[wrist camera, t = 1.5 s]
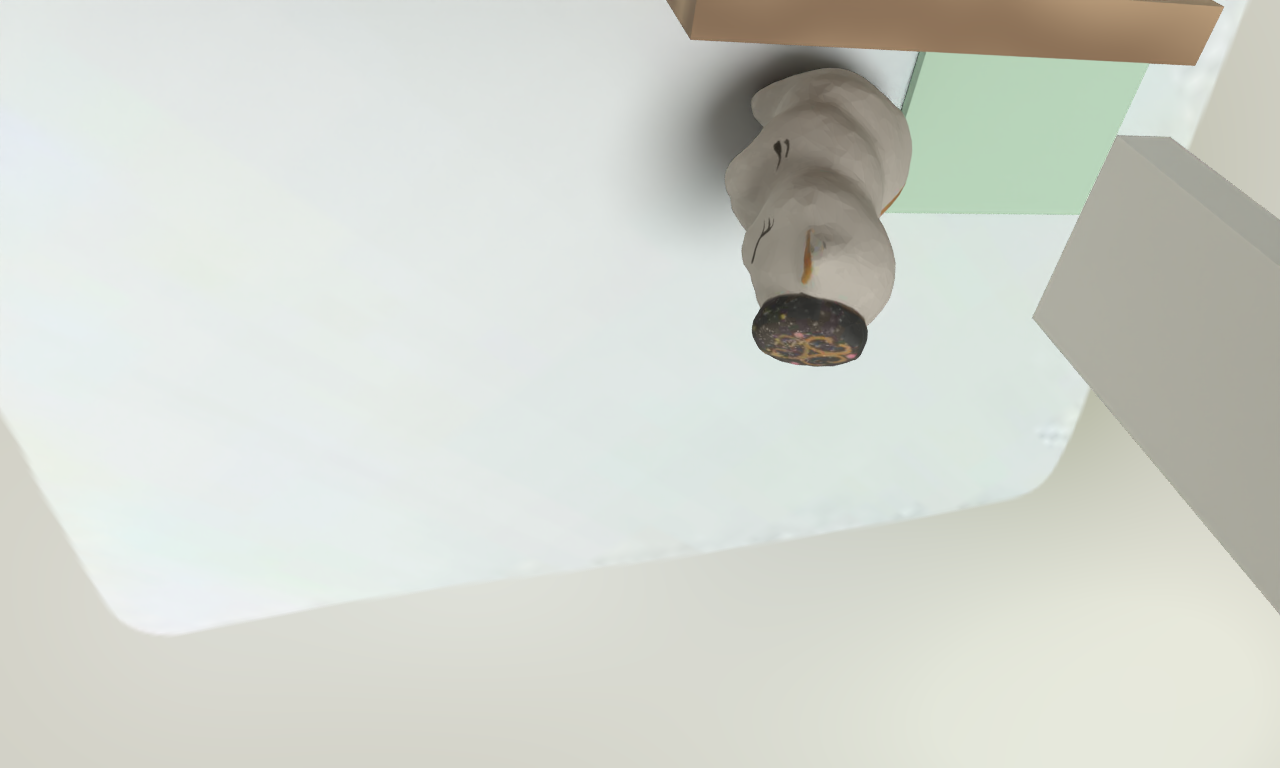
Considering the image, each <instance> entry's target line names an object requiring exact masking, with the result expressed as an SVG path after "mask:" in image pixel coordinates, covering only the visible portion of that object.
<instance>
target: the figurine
mask: <svg viewBox="0 0 1280 768" xmlns="http://www.w3.org/2000/svg"><path fill="white" fill-rule="evenodd" d="M751 107H752V111H753V116H754V117H755V119H756V120H757V121H758V122H759V123H760V124H761V125H762V126H763V129H762V131H761V132H760V134H759V135H758V136H757V137H756V138H755V139H754V140H753V141H752V142H751V144H750V145H749V146H748V147H747V148H745V149H744V150H743V151H742V152H741V153H739V154H738V155H737V156H736V157H735V158H734V159H733V160H732V161H731V163H730V164H729V166H728V168H727V170H726V173H725V186H726V190H727V193H728V195H729V196H730V199H731V206H732V210H733V212H734V214H735V215H736V217H737V219H738V220H739V222H740V223H741V225H742V226H743V227H744V229H745V230H746V231H747V232H746V233H745V237H744V241H743V245H742V259H743V263H744V265H745V267H746V268H747V270H748V271H749V273H750V276H751V280H752V284H753V287H754V290H755V294H756V299H757V301H758V304H759V306H760V310H759V312H758V314H757V315H756V317H755V319H754V320H753V325H752V335H753V338H754V340H755V342H756V344H757V346H758V347H759V349H760V350H761V351H762V352H764V353H765V354H767V355H770V356H771V357H773V358H775V359H777V360H780V361H782V362H787V363H791V364H795V365H808V366H836V365H840V364H844V363H847V362H850V361H852V360H856V359H857V358H858V357H859V356H860V355H861V353H862V351H863V349H864V346H865V344H866V341H867V333H868V330H867V326H868V325H869V324H870V323H871V322H872V321H873V320H874V319H875V317H876V316H877V315H878V314H879V313H880V312H881V310H882V309H883V308H884V306H885V305H886V303H887V302H888V300H889V298H890V296H891V292H892V289H893V284H894V279H895V258H894V253H893V250H892V246H891V243H890V241H889V238H888V236H887V233H886V231H885V228H884V227H883V225H882V223H881V222H880V220H879V218H880V216H881V215H882V214H884V213H885V212H886V211H887V210H888V209H889V207H890V206H891V205H892V204H893V203H894V202H895V200H896V199H897V198H898V196H899V195H900V193H901V191H902V190H903V188H904V186H905V184H906V181H907V177H908V174H909V168H910V162H911V157H912V140H911V135H910V131H909V126H908V123H907V120H906V118H905V116H904V114H903V113H902V112H901V111H900V110H899V109H898V108H897V107H896V106H895V105H894V104H893V103H892V102H891V101H890V100H889V99H888V98H887V97H886V96H885V95H884V94H883V93H881V92H880V91H879V90H878V89H877V88H876V87H875V86H874V85H873V84H871V83H870V82H869V81H868V80H866V79H865V78H864V77H862V76H860V75H858V74H857V73H854V72H851V71H848V70H846V69H840V68H823V69H817V70H812V71H808V72H804V73H801V74H797V75H794V76H790V77H787V78H785V79H783V80H780V81H777V82H774V83H772V84H770V85H768V86H766V87H765V88H763V89H761V90H759V91H758V92H757V93H756V94H755V95H754V96H753V97H752V101H751Z"/></svg>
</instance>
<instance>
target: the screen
mask: <svg viewBox="0 0 1280 768" xmlns="http://www.w3.org/2000/svg"><path fill="white" fill-rule="evenodd" d="M667 2H668V4H669V5H670V7H671V9H672V10H673V12H674V14H675V15H676V17H677V18H678V20H679V22H680V23H681V25H682V27H683V28H684V30H685V32H686V33H687V35H688V37H689V38H690V40H706V41H726V42H745V43H764V44H784V45H803V46H823V47H842V48H861V49H881V50H900V51H920V52H939V53H958V54H978V55H997V56H1016V57H1036V58H1055V59H1075V60H1094V61H1113V62H1133V63H1152V64H1172V65H1191V66H1195V65H1196V63H1197V61H1198V59H1199V57H1200V55H1201V53H1202V51H1203V49H1204V47H1205V45H1206V43H1207V41H1208V39H1209V37H1210V35H1211V33H1212V31H1213V28H1214V26H1215V24H1216V22H1217V20H1218V18H1219V16H1220V14H1221V12H1222V10H1223V8H1224V6H1222V5H1220V4H1218V3H1216V2H1215V1H1213V0H667Z"/></svg>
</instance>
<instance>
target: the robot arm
mask: <svg viewBox="0 0 1280 768" xmlns="http://www.w3.org/2000/svg"><path fill="white" fill-rule="evenodd" d="M1032 318H1033V319H1034V321H1035V322H1036V323H1037V324H1038V325H1039V327H1040V328H1041V329H1042V330H1043V331H1044V333H1045V334H1046V335H1047V336H1048V337H1049V339H1050V340H1051V341H1052V342H1053V343H1054V345H1055V346H1056V347H1057V348H1058V349H1059V351H1060V352H1061V353H1062V354H1063V355H1064V357H1065V358H1066V359H1067V360H1068V361H1069V363H1070V364H1071V365H1072V366H1073V367H1074V369H1075V370H1076V371H1077V372H1078V373H1079V375H1080V376H1081V377H1082V378H1083V379H1084V380H1085V382H1086V383H1087V384H1088V385H1089V386H1090V388H1091V389H1092V390H1093V391H1094V392H1095V393H1096V395H1097V396H1098V397H1099V398H1100V400H1101V401H1102V402H1103V403H1104V404H1105V406H1106V407H1107V408H1108V409H1109V410H1110V412H1111V413H1112V414H1113V415H1114V416H1115V418H1116V419H1117V420H1118V421H1119V422H1120V424H1121V425H1122V426H1123V427H1124V428H1125V430H1126V431H1127V432H1128V433H1129V434H1130V436H1131V437H1132V438H1133V439H1134V440H1135V442H1136V443H1137V444H1138V445H1139V446H1140V447H1141V448H1142V450H1143V451H1144V452H1145V454H1146V455H1147V456H1148V457H1149V458H1150V460H1151V461H1152V462H1153V463H1154V464H1155V466H1156V467H1157V468H1158V469H1159V470H1160V472H1161V473H1162V474H1163V475H1164V476H1165V477H1166V479H1167V480H1168V481H1169V482H1170V484H1171V485H1172V486H1173V487H1174V488H1175V489H1176V491H1177V492H1178V493H1179V494H1180V496H1181V497H1182V498H1183V499H1184V500H1185V501H1186V503H1187V504H1188V505H1189V506H1190V507H1191V509H1192V510H1193V511H1194V512H1195V513H1196V515H1197V516H1198V517H1199V518H1200V519H1201V521H1202V522H1203V523H1204V524H1205V525H1206V527H1207V528H1208V529H1209V530H1210V531H1211V533H1212V534H1213V535H1214V536H1215V537H1216V538H1217V540H1218V541H1219V542H1220V543H1221V545H1222V546H1223V547H1224V548H1225V549H1226V551H1227V552H1228V553H1229V554H1230V555H1231V557H1232V558H1233V559H1234V560H1235V561H1236V562H1237V564H1238V565H1239V566H1240V567H1241V569H1242V570H1243V571H1244V572H1245V573H1246V574H1247V576H1248V577H1249V578H1250V579H1251V580H1252V582H1253V583H1254V584H1255V585H1256V587H1257V588H1258V589H1259V590H1260V591H1261V592H1262V594H1263V595H1264V596H1265V597H1266V599H1267V600H1268V601H1269V602H1270V603H1271V605H1272V606H1273V607H1274V608H1275V609H1276V611H1277V612H1278V613H1279V614H1280V220H1279V219H1278V218H1277V217H1275V216H1274V215H1273V214H1271V213H1270V212H1269V211H1267V210H1266V209H1265V208H1263V207H1262V206H1261V205H1259V204H1258V203H1257V202H1255V201H1254V200H1253V199H1251V198H1250V197H1249V196H1248V195H1246V194H1245V193H1244V192H1242V191H1241V190H1240V189H1238V188H1237V187H1236V186H1234V185H1233V184H1232V183H1230V182H1229V181H1228V180H1226V179H1225V178H1224V177H1222V176H1221V175H1220V174H1218V173H1217V172H1216V171H1215V170H1213V169H1212V168H1210V167H1209V166H1208V165H1207V164H1205V163H1204V162H1202V161H1201V160H1200V159H1198V158H1197V157H1196V156H1195V155H1193V154H1192V153H1190V152H1189V151H1188V150H1187V149H1185V148H1184V147H1183V146H1181V145H1180V144H1179V143H1178V142H1176V141H1175V140H1174V139H1172V138H1171V137H1157V136H1126V135H1117V136H1116V138H1115V141H1114V143H1113V145H1112V147H1111V149H1110V151H1109V153H1108V156H1107V158H1106V160H1105V162H1104V164H1103V166H1102V169H1101V171H1100V173H1099V175H1098V177H1097V179H1096V181H1095V184H1094V186H1093V188H1092V190H1091V192H1090V194H1089V197H1088V199H1087V201H1086V203H1085V205H1084V207H1083V209H1082V212H1081V214H1080V216H1079V218H1078V220H1077V222H1076V225H1075V227H1074V229H1073V231H1072V233H1071V235H1070V237H1069V240H1068V242H1067V244H1066V246H1065V248H1064V250H1063V252H1062V255H1061V257H1060V259H1059V261H1058V263H1057V265H1056V268H1055V270H1054V272H1053V274H1052V276H1051V278H1050V280H1049V283H1048V285H1047V287H1046V289H1045V291H1044V293H1043V296H1042V298H1041V300H1040V302H1039V304H1038V306H1037V308H1036V311H1035V313H1034V315H1033V317H1032Z"/></svg>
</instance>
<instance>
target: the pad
mask: <svg viewBox="0 0 1280 768" xmlns="http://www.w3.org/2000/svg"><path fill="white" fill-rule="evenodd" d="M1149 64H1150V63H1133V62H1113V61H1094V60H1075V59H1055V58H1036V57H1016V56H997V55H978V54H958V53H939V52H919V55H918V59H917V62H916V65H915V68H914V72H913V75H912V78H911V81H910V84H909V88H908V91H907V94H906V97H905V101H904V104H903V107H902V110H901V112H902V113H903V114H904V116H905V118H906V120H907V123H908V126H909V131H910V135H911V140H912V157H911V162H910V168H909V174H908V177H907V181H906V184H905V186H904V188H903V190H902V191H901V193H900V195H899V196H898V198H897V199H896V200H895V202H894V203H893V204H892V205H891V206H890V207H889V209H888V210H887V211H886V212H885V213H950V214H1047V215H1080V212H1081V210H1082V208H1083V206H1084V204H1085V202H1086V199H1087V197H1088V195H1089V193H1090V191H1091V189H1092V187H1093V184H1094V182H1095V180H1096V178H1097V176H1098V174H1099V171H1100V169H1101V167H1102V165H1103V163H1104V161H1105V159H1106V156H1107V154H1108V152H1109V150H1110V148H1111V146H1112V143H1113V141H1114V139H1115V137H1116V135H1117V133H1118V130H1119V128H1120V126H1121V124H1122V122H1123V120H1124V118H1125V115H1126V113H1127V111H1128V109H1129V107H1130V105H1131V102H1132V100H1133V98H1134V96H1135V94H1136V92H1137V90H1138V87H1139V85H1140V83H1141V81H1142V79H1143V77H1144V74H1145V72H1146V70H1147V68H1148V66H1149Z"/></svg>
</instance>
